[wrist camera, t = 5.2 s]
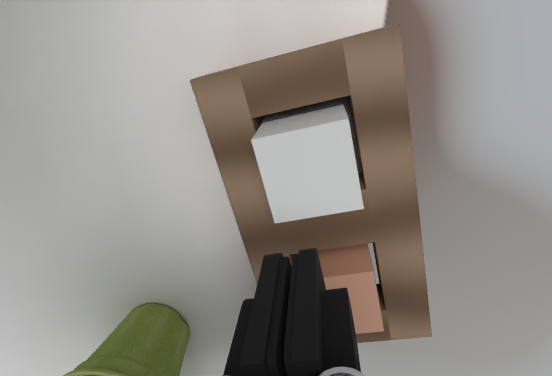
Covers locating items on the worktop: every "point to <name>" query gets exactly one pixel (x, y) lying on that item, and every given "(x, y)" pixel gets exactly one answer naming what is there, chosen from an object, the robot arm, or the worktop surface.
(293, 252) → the brown rectangular frame
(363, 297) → the terracotta key
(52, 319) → the worktop surface
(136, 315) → the plant pot
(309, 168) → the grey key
